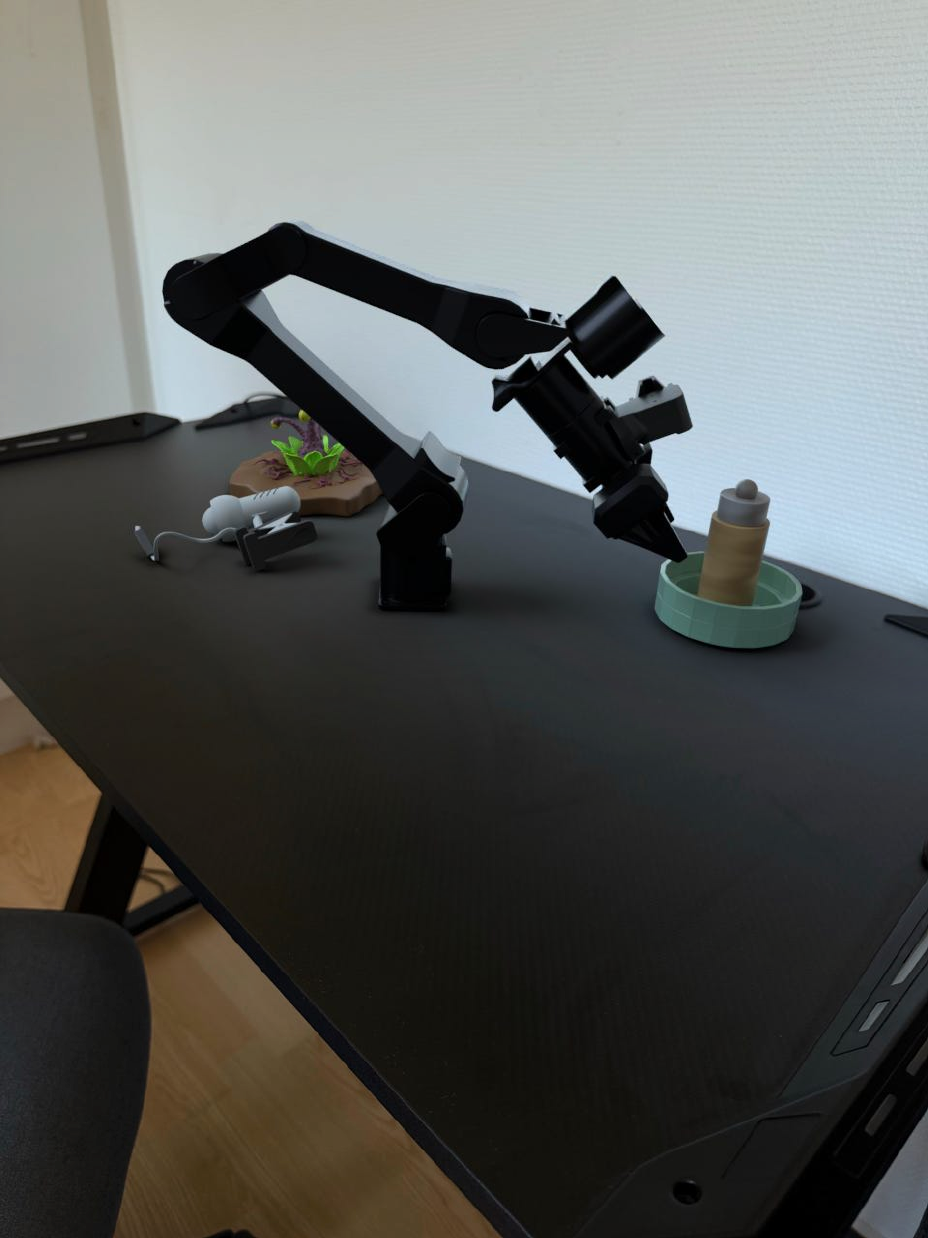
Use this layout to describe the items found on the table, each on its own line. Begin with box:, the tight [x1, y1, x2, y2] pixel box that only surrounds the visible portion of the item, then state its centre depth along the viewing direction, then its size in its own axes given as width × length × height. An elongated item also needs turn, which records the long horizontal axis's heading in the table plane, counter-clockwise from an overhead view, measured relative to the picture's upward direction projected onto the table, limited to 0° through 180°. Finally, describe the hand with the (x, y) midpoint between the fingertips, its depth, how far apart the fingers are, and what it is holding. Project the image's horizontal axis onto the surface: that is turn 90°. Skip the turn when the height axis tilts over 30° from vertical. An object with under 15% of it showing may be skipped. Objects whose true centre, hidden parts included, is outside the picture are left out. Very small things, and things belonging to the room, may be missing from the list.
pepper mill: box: [697, 478, 771, 607], centre depth 83 cm, size 5×5×14 cm
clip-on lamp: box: [133, 486, 318, 572], centre depth 95 cm, size 12×6×18 cm
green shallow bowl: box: [654, 550, 803, 649], centre depth 86 cm, size 13×13×4 cm
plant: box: [229, 409, 384, 518], centre depth 112 cm, size 20×20×11 cm
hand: (676, 540), depth 83 cm, fingers open, 9 cm apart
